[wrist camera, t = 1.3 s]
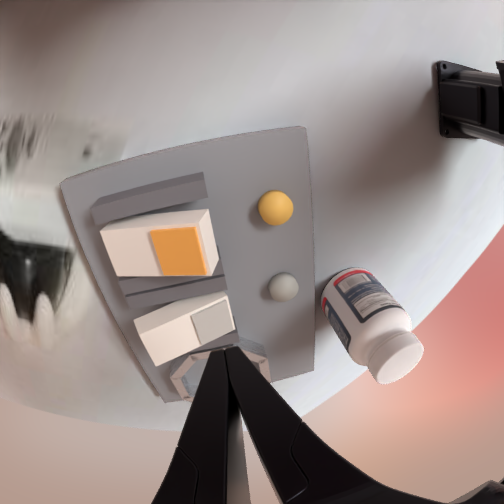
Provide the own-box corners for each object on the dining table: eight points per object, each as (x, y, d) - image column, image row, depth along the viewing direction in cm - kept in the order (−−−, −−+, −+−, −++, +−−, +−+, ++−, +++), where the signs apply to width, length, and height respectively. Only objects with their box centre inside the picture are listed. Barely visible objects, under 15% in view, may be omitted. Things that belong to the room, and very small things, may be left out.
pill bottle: (351, 320, 27) (396, 391, 19) (308, 309, 25) (351, 391, 17) (383, 274, 25) (442, 341, 17) (341, 257, 23) (404, 332, 15)
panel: (299, 126, 17) (318, 131, 15) (309, 361, 28) (320, 384, 26) (66, 178, 16) (47, 192, 13) (164, 393, 27) (165, 417, 24)
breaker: (216, 283, 20) (228, 296, 18) (224, 316, 21) (236, 330, 20) (133, 319, 17) (139, 337, 16) (149, 351, 19) (156, 368, 17)
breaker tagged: (208, 208, 15) (197, 224, 13) (219, 258, 16) (210, 278, 15) (114, 218, 16) (97, 233, 15) (129, 261, 18) (115, 278, 16)
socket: (260, 325, 23) (264, 339, 21) (269, 382, 27) (273, 394, 25) (160, 346, 22) (160, 360, 21) (188, 399, 26) (189, 411, 25)
